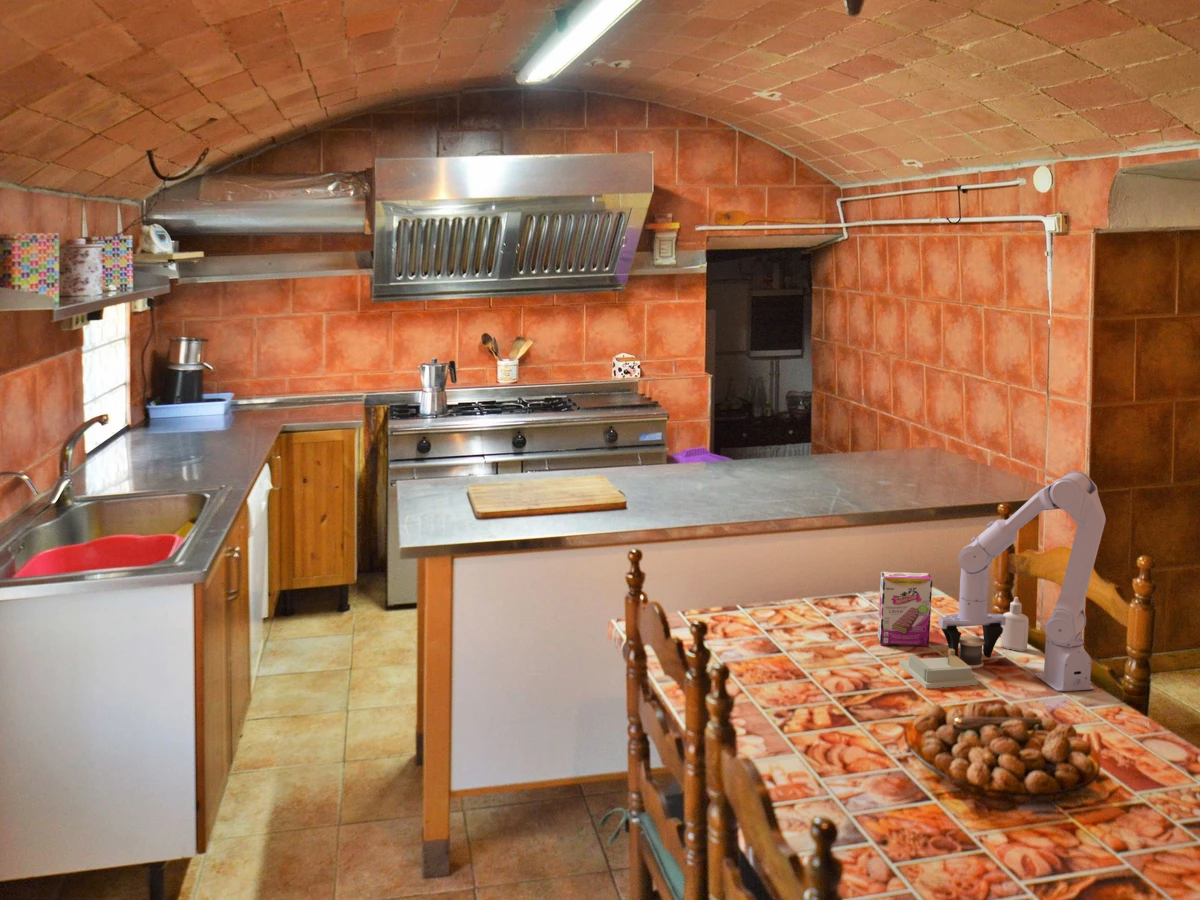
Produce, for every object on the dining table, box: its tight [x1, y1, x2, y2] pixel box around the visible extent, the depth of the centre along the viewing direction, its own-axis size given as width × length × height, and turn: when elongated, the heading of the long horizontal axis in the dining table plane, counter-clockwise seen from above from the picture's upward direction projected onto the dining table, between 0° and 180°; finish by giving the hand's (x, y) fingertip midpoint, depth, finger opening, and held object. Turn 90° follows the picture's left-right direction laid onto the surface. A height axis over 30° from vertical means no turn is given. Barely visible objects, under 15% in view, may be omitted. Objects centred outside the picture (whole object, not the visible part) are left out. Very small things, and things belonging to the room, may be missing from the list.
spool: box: [958, 635, 985, 669], centre depth 247 cm, size 6×6×6 cm
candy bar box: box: [877, 571, 933, 647], centre depth 259 cm, size 11×5×16 cm, turn 84°
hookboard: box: [898, 648, 980, 690], centre depth 240 cm, size 14×12×4 cm
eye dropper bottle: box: [999, 596, 1029, 652], centre depth 255 cm, size 4×6×12 cm
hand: (970, 657), depth 247 cm, fingers open, 7 cm apart
